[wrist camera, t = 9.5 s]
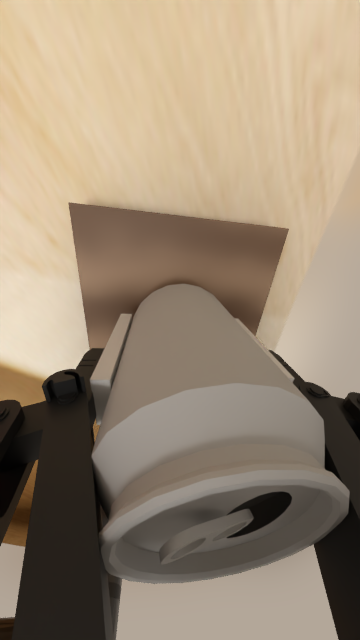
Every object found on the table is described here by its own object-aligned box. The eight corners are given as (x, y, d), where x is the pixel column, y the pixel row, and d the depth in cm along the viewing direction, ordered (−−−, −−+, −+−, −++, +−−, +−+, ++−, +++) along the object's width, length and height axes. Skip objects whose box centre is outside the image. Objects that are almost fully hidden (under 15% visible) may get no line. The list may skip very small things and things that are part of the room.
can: (200, 368, 17) (268, 590, 7) (122, 348, 15) (39, 615, 5) (238, 299, 15) (464, 484, 4) (150, 265, 13) (102, 439, 2)
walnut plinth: (231, 365, 23) (240, 383, 21) (102, 365, 21) (94, 384, 19) (267, 229, 17) (288, 228, 14) (85, 208, 14) (68, 202, 12)
